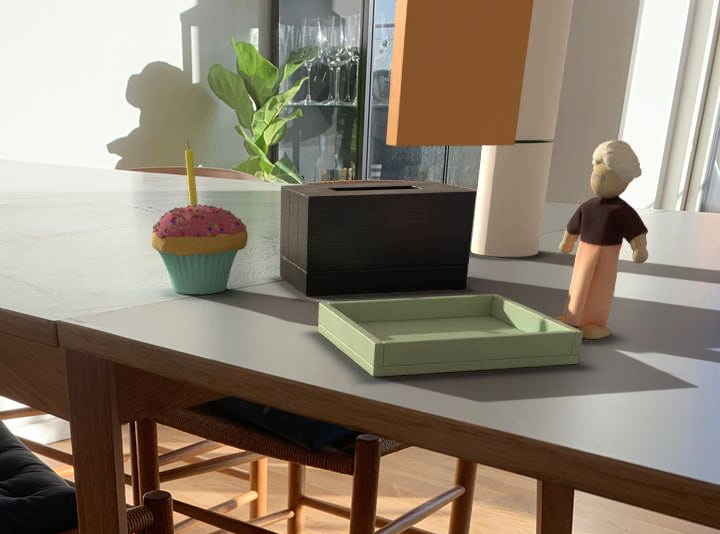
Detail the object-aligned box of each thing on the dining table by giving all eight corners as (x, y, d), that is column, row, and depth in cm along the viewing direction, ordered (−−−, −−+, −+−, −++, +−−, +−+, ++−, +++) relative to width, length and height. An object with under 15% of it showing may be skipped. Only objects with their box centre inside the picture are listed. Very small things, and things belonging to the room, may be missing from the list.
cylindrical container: (497, 245, 108) (529, -21, 95) (551, 251, 103) (592, -27, 91) (457, 251, 104) (485, -25, 91) (511, 259, 99) (549, -32, 87)
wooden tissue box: (437, 269, 94) (445, 180, 90) (478, 287, 86) (489, 190, 82) (279, 276, 91) (280, 185, 87) (305, 296, 83) (308, 196, 79)
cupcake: (140, 286, 87) (131, 140, 81) (222, 278, 91) (219, 137, 85) (178, 302, 81) (171, 145, 75) (265, 293, 84) (265, 141, 78)
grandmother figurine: (525, 328, 71) (553, 139, 65) (555, 321, 74) (584, 137, 67) (618, 347, 66) (657, 143, 60) (646, 338, 68) (687, 141, 62)
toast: (501, 143, 62) (527, -63, 57) (514, 145, 61) (543, -68, 55) (385, 144, 61) (400, -67, 55) (396, 146, 59) (412, -72, 54)
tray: (493, 321, 74) (497, 293, 73) (578, 364, 62) (583, 331, 61) (317, 331, 71) (318, 302, 70) (373, 377, 60) (375, 343, 59)
